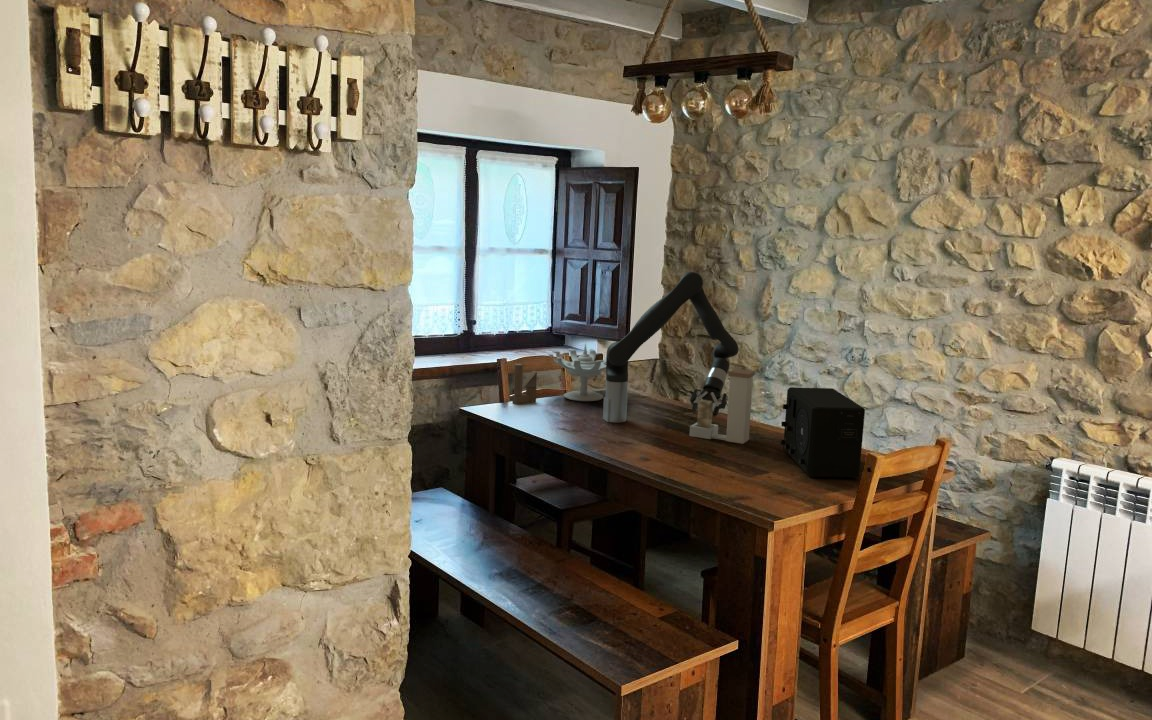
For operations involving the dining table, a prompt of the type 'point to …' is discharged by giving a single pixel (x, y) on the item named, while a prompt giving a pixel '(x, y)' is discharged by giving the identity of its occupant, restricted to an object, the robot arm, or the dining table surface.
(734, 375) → the post
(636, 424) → the dining table surface
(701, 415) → the block
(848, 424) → the vintage radio
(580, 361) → the candelabra
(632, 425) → the dining table surface
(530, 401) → the wooden block
